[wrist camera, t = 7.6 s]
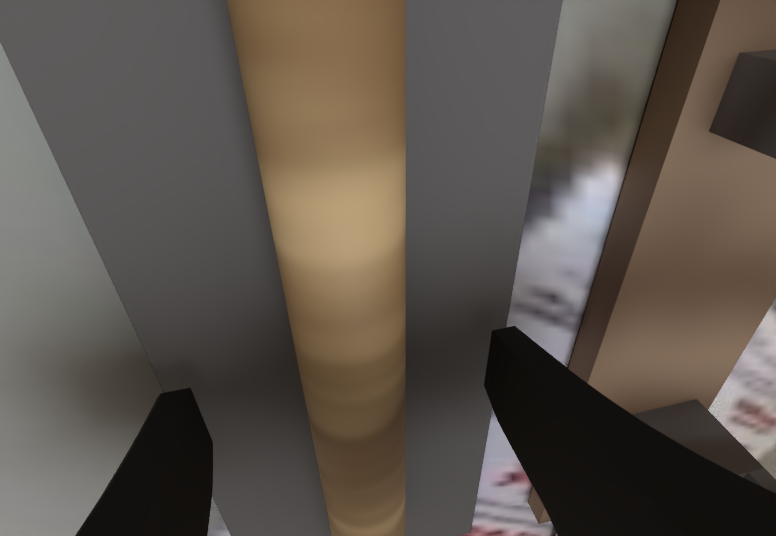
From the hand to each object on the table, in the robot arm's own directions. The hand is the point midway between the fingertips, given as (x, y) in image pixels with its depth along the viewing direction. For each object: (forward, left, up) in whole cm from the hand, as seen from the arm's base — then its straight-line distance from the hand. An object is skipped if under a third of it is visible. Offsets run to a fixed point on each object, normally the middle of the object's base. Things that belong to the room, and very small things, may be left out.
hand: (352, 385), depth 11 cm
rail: (0, 0, -1) cm, 1 cm away
